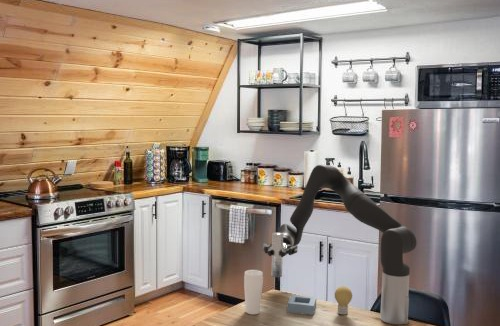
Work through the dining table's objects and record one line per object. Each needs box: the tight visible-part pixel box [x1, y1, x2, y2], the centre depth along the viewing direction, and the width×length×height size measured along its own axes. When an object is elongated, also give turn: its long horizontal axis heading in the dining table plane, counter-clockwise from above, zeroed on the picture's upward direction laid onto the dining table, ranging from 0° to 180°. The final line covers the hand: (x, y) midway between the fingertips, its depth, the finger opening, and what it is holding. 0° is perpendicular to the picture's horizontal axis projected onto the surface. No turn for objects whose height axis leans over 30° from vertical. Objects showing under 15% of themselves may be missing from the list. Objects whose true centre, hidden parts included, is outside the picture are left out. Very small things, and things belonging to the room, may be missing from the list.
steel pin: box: [270, 232, 284, 278], centre depth 195 cm, size 4×4×16 cm
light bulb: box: [334, 286, 353, 316], centre depth 191 cm, size 6×6×10 cm
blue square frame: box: [286, 294, 317, 316], centre depth 194 cm, size 10×10×4 cm
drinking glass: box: [243, 269, 264, 316], centre depth 189 cm, size 7×7×15 cm
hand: (276, 253), depth 192 cm, fingers closed on steel pin, 4 cm apart
